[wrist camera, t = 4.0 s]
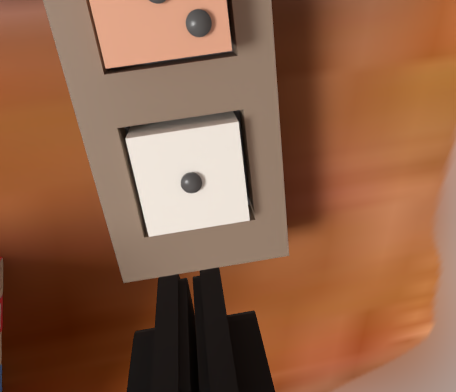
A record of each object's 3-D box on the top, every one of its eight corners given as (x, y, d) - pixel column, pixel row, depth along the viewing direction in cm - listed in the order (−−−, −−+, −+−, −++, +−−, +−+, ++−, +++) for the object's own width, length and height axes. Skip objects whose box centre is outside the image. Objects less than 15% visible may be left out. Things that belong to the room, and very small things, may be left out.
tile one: (130, 125, 22) (124, 139, 20) (232, 110, 22) (239, 122, 20) (151, 216, 24) (148, 238, 22) (243, 202, 25) (250, 222, 22)
